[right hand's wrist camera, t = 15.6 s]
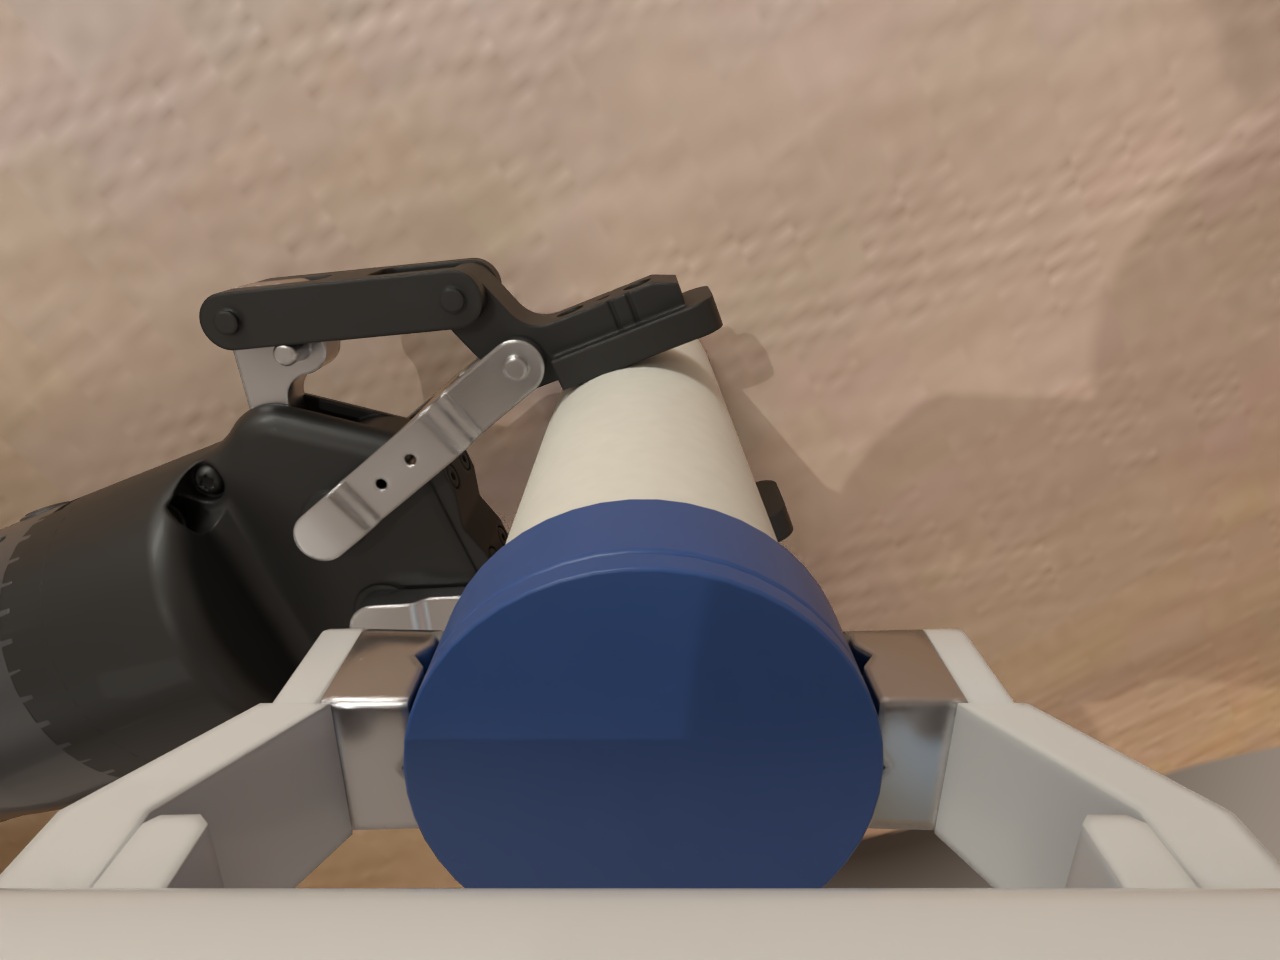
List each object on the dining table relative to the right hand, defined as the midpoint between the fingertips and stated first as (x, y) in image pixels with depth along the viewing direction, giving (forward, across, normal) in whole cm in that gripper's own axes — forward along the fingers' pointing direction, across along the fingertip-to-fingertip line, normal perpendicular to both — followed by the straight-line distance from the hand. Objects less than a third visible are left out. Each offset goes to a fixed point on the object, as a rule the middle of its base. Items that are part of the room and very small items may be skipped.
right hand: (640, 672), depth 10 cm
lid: (-2, 0, 0) cm, 2 cm away
